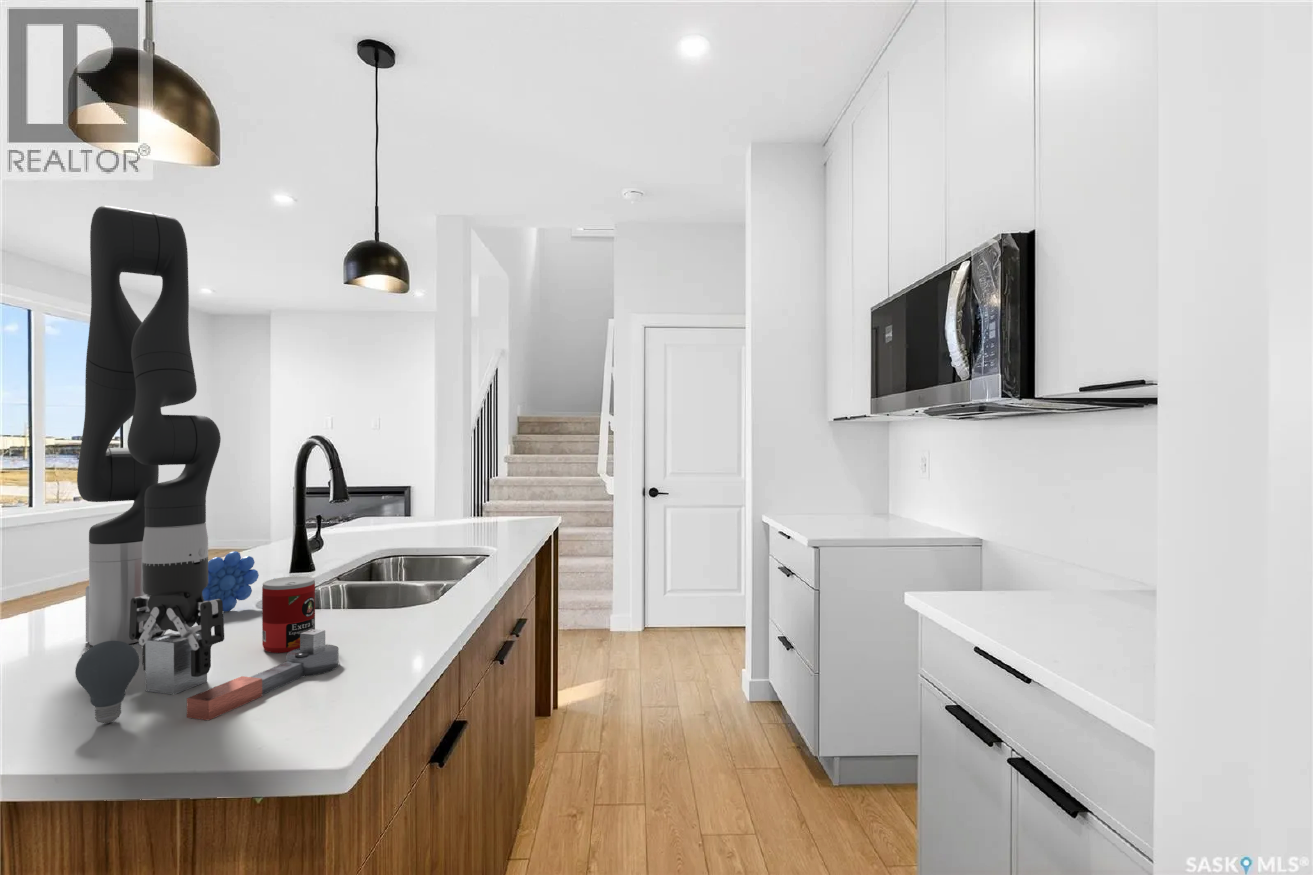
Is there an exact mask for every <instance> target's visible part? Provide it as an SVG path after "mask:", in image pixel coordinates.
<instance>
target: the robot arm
mask: <svg viewBox="0 0 1313 875" xmlns="http://www.w3.org/2000/svg"><path fill="white" fill-rule="evenodd" d="M89 238H90V239H89V240H90V241H89V244H90V245H89V248H90V249H89V250H90V251H89V252H90V255H89V256H90V287H91V288H90V292H91V294H90V295H91V296H90V298H91V300H90V302H91V303H90V318H89V327H88V338H87V339H88V340H87V348H86V358H85V359H86V360H85V379H84V380H85V385H84V386H85V388H84V389H85V393H84V394H85V398H84V400H85V402H84V407H85V408H84V420H83V431H82V436H81V444H80V450H79V457H78V465H77V471H76V472H77V474H76V476H77V477H76V485H77V490H78V494H79V495H80V498H82V499H83V500H84V501H87V502H92V503H108V502H126V501H133V504H132V505H131V507H130V508H129V509H127V510H126V511H124V512H123V513H121V514H119V515H117V516H115V517H113V518H109V519H107V520H104V521H100V522H98V523H96V524H93V525H91V527H90V528H89V531H88V579H89V580H88V585H87V586H86V587H85V642H87V643H88V644H89V645H90V646H91V647H93V646H94V645H96V644H99V643H102V642H106V641H122V642H125V643H127V644H129V645H131V644H134V643H138V644H139V645H140V646H142V649H141V651H142V656H141V657H142V658H141V659H142V661H141V662H142V663H141V664H142V666H143V671H144V672H146V659H145V640H148V639H152V638H155V637H159V636H162V635H165V634H166V632H167V631H168V630H170V631H171V632H176V631H177V632H178V631H179V633H180V635H181V636H182V637H183V638H187V640H188V642H189V643H190V645H191V647H192V649H193V650H191V676H193V677H199V676H202V675H205V674H207V675H208V673H209V672H210V670H211V668H212V665H211V664H212V661H211V660H212V659H211V658H212V657H211V655H212V651H211V650H212V646H214V645H215V644H219V643H222V642H223V641H224V640H225V622H224V612H223V602H222V600H221V599H216V600H211V601H204V599H203V595H202V591H203V590H204V588H205V587H207V585H208V562H209V536H208V531H207V505H206V504H207V501H206V500H207V491H208V487H209V483H210V479H211V477H212V476H211V475H212V471H213V469H214V466H215V463H216V460H217V457H218V454H219V451H220V447H221V433H220V429H219V427H218V425H217V424H216V422H214V420H213V419H211V418H210V417H208V416H205V415H196V414H195V415H194V414H193V415H192V414H190V415H189V414H163V413H162V408H164V407H171V406H176V405H180V404H185V403H187V402H188V403H189V402H190V401H191V400H193V399H194V398H195V397H196V394H197V391H198V390H197V386H198V385H197V380H196V375H195V369H194V368H195V367H194V363H193V357H192V353H191V352H192V351H191V343H190V330H189V329H190V328H189V326H190V325H189V307H190V303H189V302H190V300H189V299H190V298H189V297H190V294H189V289H190V288H189V286H190V285H189V258H188V256H189V254H188V253H189V252H188V245H187V244H188V243H187V238H186V234H185V230H184V227H183V225H182V224H181V222H179V220H177V219H176V218H175V217H173V216H169V215H165V214H160V213H156V212H150V211H149V212H148V211H144V210H143V211H142V210H137V209H131V208H123V207H118V206H111V205H101V206H99V207H97V208H96V209H95V211H94V213H93V214H92V217H91V223H90V234H89ZM122 273H126V274H127V273H128V274H129V273H130V274H136V275H145V276H146V275H148V276H155V277H161V279H162V280H161V282H162V283H161V284H162V285H161V291H160V295H159V297H158V299H157V301H156V302H155V304H154V306H153V307H152V308H151V310H150V311H149V313H148V314H147V316H146V317H145V318H144V320H143V321H141V318H139V317H138V315H137V313H135V310H134V309H133V308H132V306H131V304H130V303H129V301H128V299H127V298H126V296H125V294H124V291H123V289H122V286H121V282H120V281H121V274H122ZM131 418H132V419H131ZM130 419H131V422H130V426H129V430H128V436H127V443H126V444H127V447H110V443H112V442H111V441H112V440H113V438H114V436H116V433H117V432H118V431H119V429H120V428H121V427H122V426H123V425H124V424H125V423H126V422H128V421H129V420H130ZM169 465H170V466H172V465H177V466H178V465H179V466H181V465H184V467H183V470H182V472H181V473H180V475H179V476H178V477H175V478H174V479H172V480H171V479H170V480H166V481H163V482H162V481H161V482H159V478H160V477H159V475H160V474H159V473H160V472H159V468H160V467H159V466H169ZM195 624H196V625H195ZM194 625H195V626H194ZM212 628H213V629H214V632H213V633H214V634H212ZM196 634H199V635H200V636H201V638H202V639H200V640H199V639H198V637H197V635H196Z"/></svg>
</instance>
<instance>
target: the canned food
mask: <svg viewBox="0 0 1313 875" xmlns="http://www.w3.org/2000/svg"><path fill="white" fill-rule="evenodd" d="M261 588H262V589H261V598H262V599H261V605H262V606H261V610H262V611H261V614H262V616H261V617H262V618H261V620H262V621H261V622H262V625H261V626H262V632H261V634H262V638H261V639H262V641H261V642H262V647H263V650H264V651H265V652H268V653H272V654H273V653H274V654H284V653H285V654H287V653H289V652H290V651H292V650H295V649H298V648H300V633H303V632H306V631H308V630H311V629H316V581H315V578H314V577H312V576H306V575H305V576H304V575H303V576H302V575H301V576H299V575H297V576H295V575H293V576H284V577H276V578H271V579H269V580H266V581H264V582H263V583H262V587H261Z"/></svg>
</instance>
